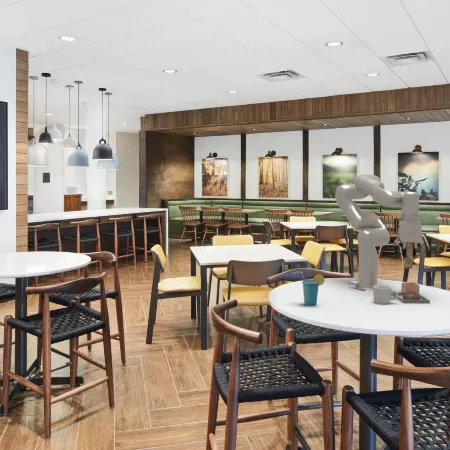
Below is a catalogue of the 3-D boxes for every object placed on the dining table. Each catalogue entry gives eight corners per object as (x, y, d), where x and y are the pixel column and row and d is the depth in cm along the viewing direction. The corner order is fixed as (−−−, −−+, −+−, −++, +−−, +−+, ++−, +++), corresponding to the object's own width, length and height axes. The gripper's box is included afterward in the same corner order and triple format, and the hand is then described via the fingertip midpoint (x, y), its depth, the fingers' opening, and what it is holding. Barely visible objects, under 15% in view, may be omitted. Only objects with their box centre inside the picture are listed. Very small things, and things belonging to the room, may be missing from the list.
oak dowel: (405, 268, 218) (406, 243, 217) (403, 267, 222) (403, 242, 221) (413, 268, 218) (414, 243, 217) (410, 267, 222) (411, 242, 221)
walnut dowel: (404, 294, 214) (402, 293, 217) (405, 300, 214) (402, 299, 217) (420, 294, 214) (417, 293, 217) (420, 300, 214) (417, 300, 217)
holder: (406, 296, 227) (406, 284, 227) (401, 293, 234) (401, 282, 233) (419, 296, 227) (419, 285, 227) (414, 293, 233) (414, 282, 233)
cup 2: (397, 303, 213) (397, 285, 212) (397, 307, 205) (398, 289, 205) (372, 301, 216) (373, 284, 216) (372, 305, 209) (372, 287, 208)
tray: (403, 304, 210) (403, 299, 210) (390, 296, 226) (391, 292, 226) (429, 304, 210) (429, 300, 210) (415, 296, 226) (415, 292, 226)
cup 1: (292, 305, 207) (292, 272, 206) (293, 301, 214) (293, 269, 213) (324, 307, 204) (324, 273, 203) (324, 303, 211) (324, 270, 210)
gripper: (395, 218, 215) (393, 258, 216) (431, 218, 214) (429, 258, 216) (389, 217, 222) (388, 255, 223) (424, 217, 222) (423, 256, 223)
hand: (408, 256), depth 219 cm, fingers closed on oak dowel, 3 cm apart
